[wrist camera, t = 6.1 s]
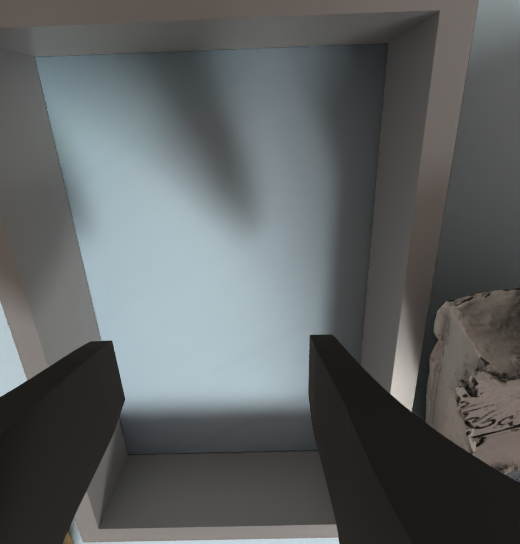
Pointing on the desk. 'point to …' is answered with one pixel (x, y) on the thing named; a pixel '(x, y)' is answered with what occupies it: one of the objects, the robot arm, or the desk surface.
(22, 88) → the box
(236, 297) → the desk surface
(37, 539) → the robot arm
